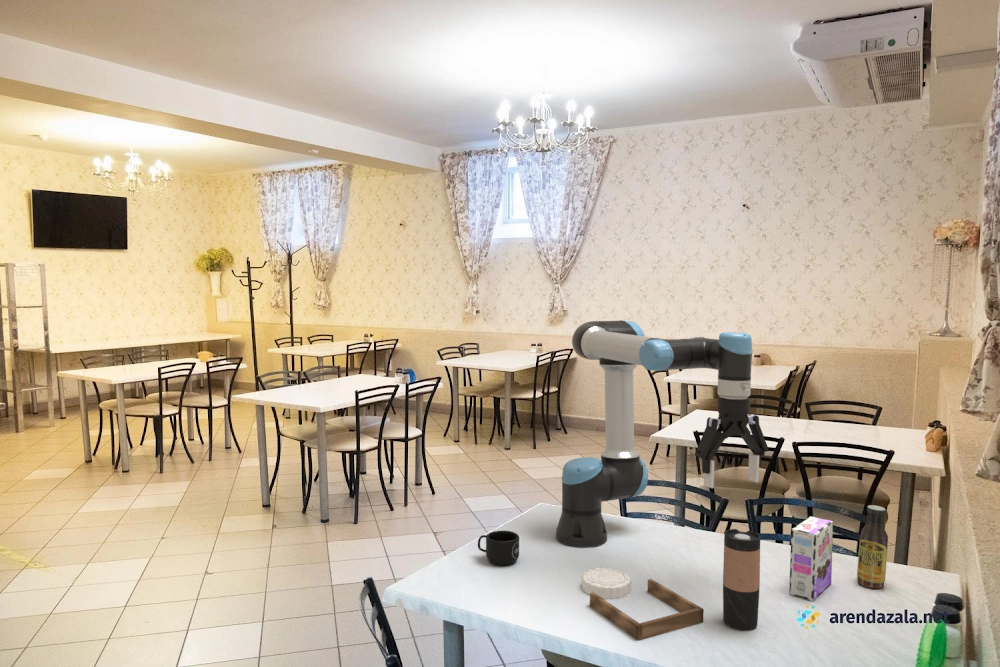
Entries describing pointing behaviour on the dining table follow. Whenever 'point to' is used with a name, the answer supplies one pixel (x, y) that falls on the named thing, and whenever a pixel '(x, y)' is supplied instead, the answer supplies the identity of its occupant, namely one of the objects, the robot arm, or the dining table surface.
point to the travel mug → (741, 579)
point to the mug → (501, 547)
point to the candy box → (811, 558)
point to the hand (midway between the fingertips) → (731, 483)
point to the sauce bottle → (873, 549)
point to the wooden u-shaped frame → (685, 618)
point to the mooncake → (606, 583)
